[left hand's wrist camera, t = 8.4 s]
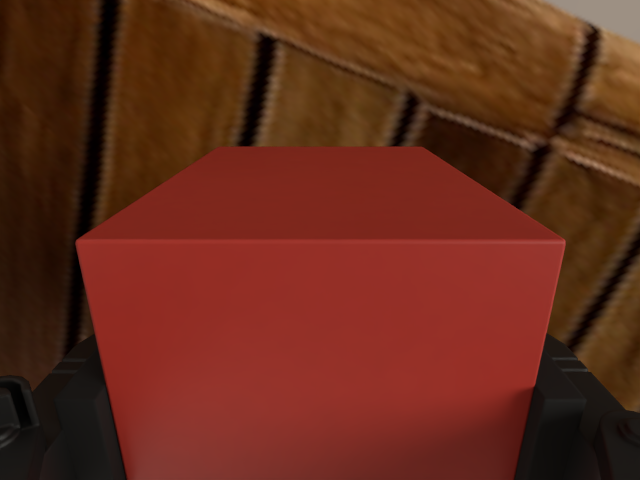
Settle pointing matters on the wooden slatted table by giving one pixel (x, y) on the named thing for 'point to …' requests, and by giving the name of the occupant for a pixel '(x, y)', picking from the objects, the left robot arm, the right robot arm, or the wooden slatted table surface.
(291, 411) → the brick
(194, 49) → the wooden slatted table surface
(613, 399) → the left robot arm
